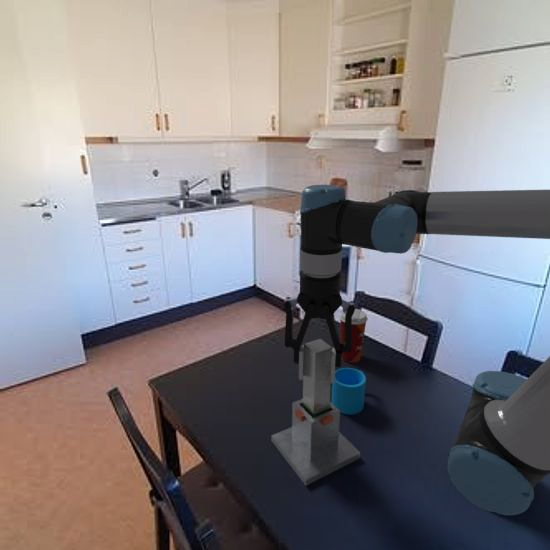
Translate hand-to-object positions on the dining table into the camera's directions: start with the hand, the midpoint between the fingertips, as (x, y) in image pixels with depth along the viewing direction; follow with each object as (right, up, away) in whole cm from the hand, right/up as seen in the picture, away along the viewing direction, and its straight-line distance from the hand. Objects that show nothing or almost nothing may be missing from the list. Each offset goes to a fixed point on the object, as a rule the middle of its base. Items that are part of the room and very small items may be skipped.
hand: (316, 377), depth 82 cm
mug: (+11, -12, +22) cm, 28 cm away
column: (0, -11, +4) cm, 12 cm away
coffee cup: (+15, -5, +41) cm, 44 cm away
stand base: (0, -18, +7) cm, 19 cm away
